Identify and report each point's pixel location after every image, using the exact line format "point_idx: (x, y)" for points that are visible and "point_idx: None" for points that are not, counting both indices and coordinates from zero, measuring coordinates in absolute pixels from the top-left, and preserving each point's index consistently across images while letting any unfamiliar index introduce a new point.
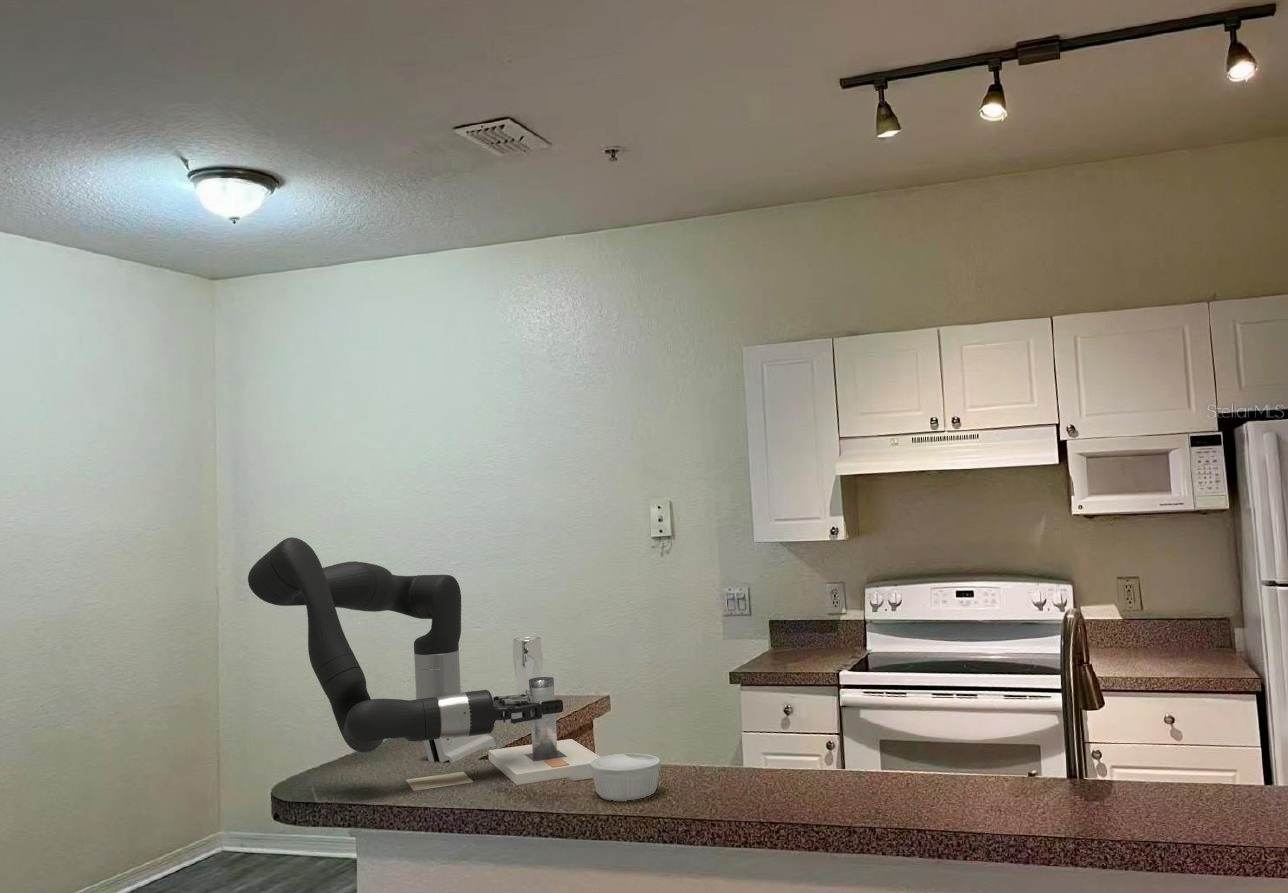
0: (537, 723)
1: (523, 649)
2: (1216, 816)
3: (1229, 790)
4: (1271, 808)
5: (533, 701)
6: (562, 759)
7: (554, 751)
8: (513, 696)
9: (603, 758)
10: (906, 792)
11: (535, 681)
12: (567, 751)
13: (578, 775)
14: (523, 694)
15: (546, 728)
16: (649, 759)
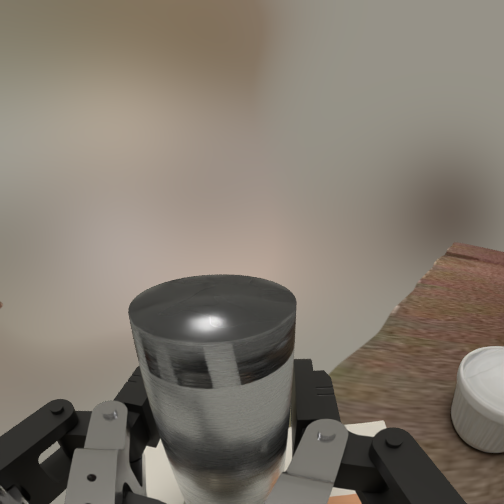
0: (265, 497)
1: None
2: (493, 253)
3: (460, 245)
4: (481, 247)
5: (250, 447)
6: (333, 496)
7: None
8: (90, 488)
9: (500, 401)
10: (472, 283)
11: (269, 330)
12: None
13: None
14: (59, 406)
15: None
16: (474, 358)
